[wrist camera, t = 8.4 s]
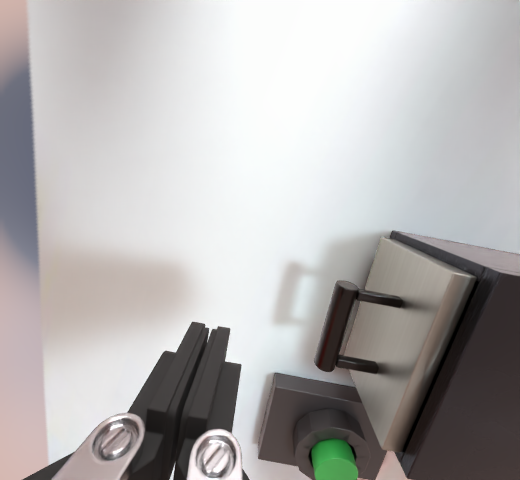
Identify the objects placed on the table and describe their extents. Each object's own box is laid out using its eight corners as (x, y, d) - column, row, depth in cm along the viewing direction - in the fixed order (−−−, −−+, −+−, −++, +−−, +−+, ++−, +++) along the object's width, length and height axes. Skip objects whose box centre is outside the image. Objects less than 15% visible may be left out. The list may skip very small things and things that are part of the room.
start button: (307, 463, 22) (310, 486, 20) (316, 433, 21) (320, 454, 19) (345, 470, 22) (351, 494, 20) (356, 440, 21) (363, 463, 19)
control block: (258, 441, 26) (256, 481, 22) (274, 372, 24) (275, 404, 20) (368, 462, 26) (383, 504, 22) (394, 394, 24) (415, 430, 20)
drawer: (297, 348, 22) (312, 437, 14) (328, 227, 19) (367, 256, 11) (488, 384, 22) (604, 491, 14) (546, 268, 19) (728, 324, 12)
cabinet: (350, 357, 23) (406, 479, 13) (392, 230, 20) (500, 272, 10) (500, 385, 23) (660, 526, 13) (564, 262, 20) (826, 334, 10)
